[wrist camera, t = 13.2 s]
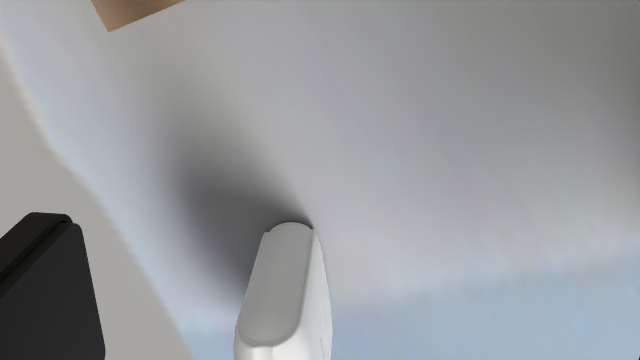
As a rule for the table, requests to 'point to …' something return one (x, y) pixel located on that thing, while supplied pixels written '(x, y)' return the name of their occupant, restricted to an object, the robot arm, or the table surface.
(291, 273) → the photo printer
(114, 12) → the walnut block
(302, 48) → the table surface
